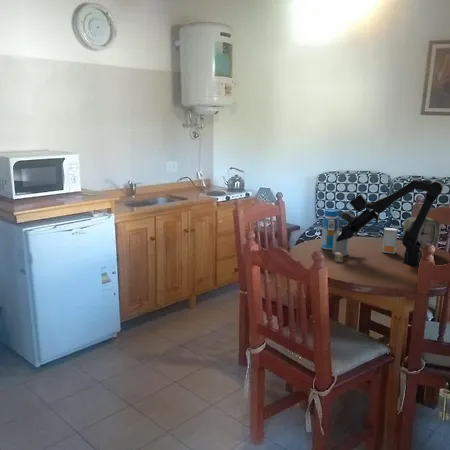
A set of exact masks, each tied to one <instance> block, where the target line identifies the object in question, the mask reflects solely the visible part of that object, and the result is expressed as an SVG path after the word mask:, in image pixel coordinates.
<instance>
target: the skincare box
mask: <svg viewBox="0 0 450 450" xmlns="http://www.w3.org/2000/svg"><path fill="white" fill-rule="evenodd" d="M398 231H399V230H398V228H392V227H391V228H390V227H385V228H384V230H383V238H382V250H381V253H387V254H393V255H394V254H395V253H396V252H397V251H396V250H397V240H398Z"/></svg>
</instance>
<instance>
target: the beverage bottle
mask: <svg viewBox="0 0 450 450" xmlns="http://www.w3.org/2000/svg"><path fill="white" fill-rule="evenodd" d="M338 216H339V210H338V209H337V208H336V209H335V208H325V210H324V219H323V220H322V227H321V229H322V231H321V248H322V249H324V250H327V251H328V250H330V251H333V235H334V233H338V232H339V230H340V227H339V225H340V222H339V219H338Z"/></svg>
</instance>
